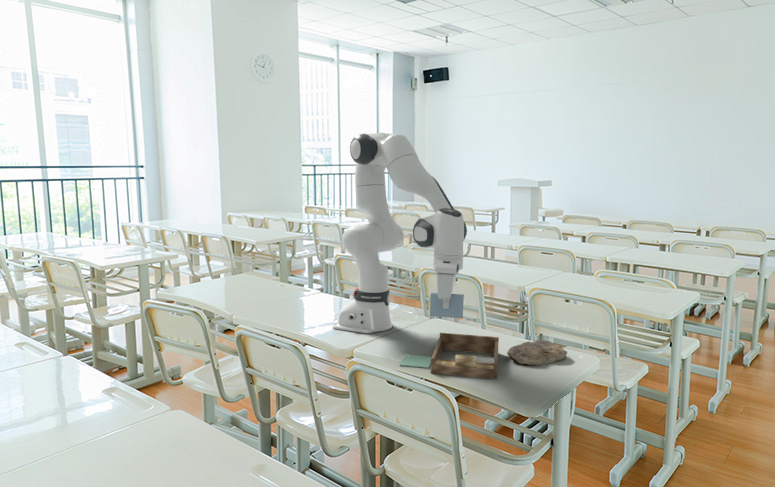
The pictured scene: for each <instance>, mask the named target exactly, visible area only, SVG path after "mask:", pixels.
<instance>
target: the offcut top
mask: <svg viewBox="0 0 775 487" xmlns="http://www.w3.org/2000/svg"><path fill="white" fill-rule="evenodd" d="M454 358H455V359H454V360H455V366H463V367H474V368H476V362H477V356H476V355H469V354H455V356H454Z"/></svg>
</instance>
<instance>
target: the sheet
mask: <svg viewBox="0 0 775 487" xmlns="http://www.w3.org/2000/svg"><path fill="white" fill-rule="evenodd" d="M464 298H465V294H461V293H460V294H459V293H452V295H451V298H450V299H449V308H448V309H446V308H443V299H439V298H438V293H437V292H430V298H429V299H430V301H429V302H430V304H429V307H430V308H429V316H430V317H439V318H440V317H441V318H453V319H463V318H464Z"/></svg>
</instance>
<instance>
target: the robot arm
mask: <svg viewBox="0 0 775 487" xmlns="http://www.w3.org/2000/svg"><path fill="white" fill-rule="evenodd" d="M349 154H350V156H351V158H352V160H353V162H355V163H356V165H355V172H354V173H355V174H354V175H355V176H354V184H355V197H356V198H355V199H356V207H357V209H358V211H359V212H361V213H363V214H364V215H365V216H366V219H367V222H368V223H365V224H357V225H353V226H351V227H349V228H346V230H345V231H344V232H343V235H342V245H343V248H344V250H345V251H346V252H347V253H348V254H350V256H352V258H353V259H354V261H355V264H356V267H357V270H358V271H357V273H358V287H356V288H355V290H353V292H352V296H353V299H352V300H350V301H349V302H347V303H346V304H345V305H343V307H341V309H340V311H339V314H338V318H336V319H335V320H334V321H333V322H332V328H333V329H335V330H342V331H347V332H348V331H350V332H353V333H354V332H355V333H356V332H357V333H361V334H362V333H363V334H372V333H376V332H383V331H387V330H390V329H392V328H393V323H392V319H391V314H390V302H391V299H390V298H391V292H390V289H389V269H388V267H387V266H386V265H385V264H383V263H381V261H380V259H379V253H385V252H390V251H393V250H396V249H399V247H401V246H402V244H403V242H404V237H405V236H404V230H403V229H402V227H401V226H400V224H398V223H397V222H396V221H395V220H394V219H393V217H392V214H391V213H390V210H389V207H388V200H387V199H388V198H387V190H386V189H387V188H386V187H387V186H386V177H385V171H386V170H387V173H388V175H389V177H390V180H391V181H392V182H393V184H394V185H395V187H397V189H399V190H401V191H404V192H407V193H412V194H415V195H418V196H419V197H422V198H423V199H425V200H426V201H427V202H428V203H429V205H430V206H431V208H432V210H433V211H434V213H433V214H431V215H429V216H426V217H423V218H419V219H417V221H416V222H414V225H413V228H412V237H413V240H414V243H416V245H417V246H419V247H420V248H424V249H429V248H431V249H432V248H433V249H434V252H433V269H434V273H435V274H436V290H437V292H436V293H438V298H439V299H443V308H446V309H448V308H449V299H450V298H451V295H452V294H453V292H454V290H455V286H456V279H457V278H456V277H457V275H458V274H459V272H460V270H463V268H464V266H463V264H464V250H463V243H464V242H465V239H466V236H467V232H468V228H467V224H466V222H465V221H464V215H463V213H462V212H460V211H459V210H457V209H455V208H454V207H453V205H452V203H451V202H450V200H449V198H448V197H447V194H446V193H445V191H444V190H443V188H442V187H441V185H440V183H439V182H438V181H437V179H436V178H435V177H434V176H433V175H431V174H430V173H429V172H428V171H427V169H426V168H425V167H424V165H423V164H422V162H421V161H420V158H419V157H418V154H417V152H416V150H415V148H414V146H413V145H412V143H411V142H410V140H409V139H408V137H407V136H405V135H404V134H401V133H389V132H388V133H387V132H379V133H376V132H375V133H361V134H357V135H355V136H353V138H352V140H351V142H350V145H349Z"/></svg>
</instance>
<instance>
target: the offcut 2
mask: <svg viewBox="0 0 775 487" xmlns="http://www.w3.org/2000/svg"><path fill="white" fill-rule="evenodd" d="M493 367H494V365H483V364H476V368H486V369H493Z"/></svg>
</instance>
